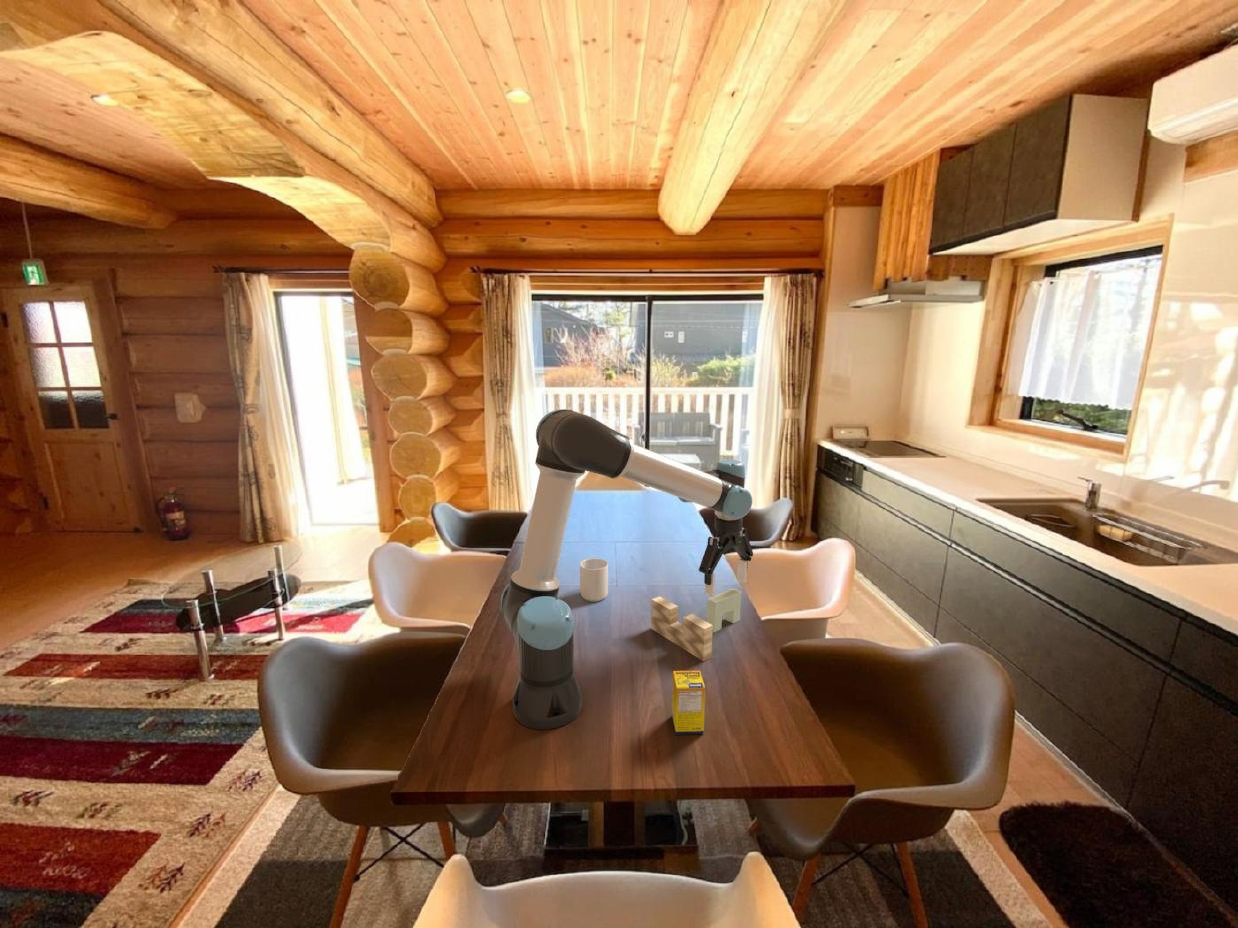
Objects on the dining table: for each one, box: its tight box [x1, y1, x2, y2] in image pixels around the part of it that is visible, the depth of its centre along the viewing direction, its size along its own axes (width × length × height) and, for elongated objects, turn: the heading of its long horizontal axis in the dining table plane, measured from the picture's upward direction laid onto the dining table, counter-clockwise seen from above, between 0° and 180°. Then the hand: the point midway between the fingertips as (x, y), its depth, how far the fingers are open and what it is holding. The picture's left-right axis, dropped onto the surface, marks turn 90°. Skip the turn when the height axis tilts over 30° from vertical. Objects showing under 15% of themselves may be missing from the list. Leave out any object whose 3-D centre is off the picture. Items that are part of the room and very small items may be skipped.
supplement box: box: [671, 670, 706, 736], centre depth 107 cm, size 6×6×11 cm
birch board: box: [650, 595, 714, 662], centre depth 139 cm, size 20×3×9 cm, turn 38°
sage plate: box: [706, 588, 742, 633], centre depth 148 cm, size 11×3×9 cm, turn 128°
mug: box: [579, 558, 609, 603], centre depth 166 cm, size 12×9×11 cm
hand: (725, 587), depth 147 cm, fingers open, 13 cm apart
